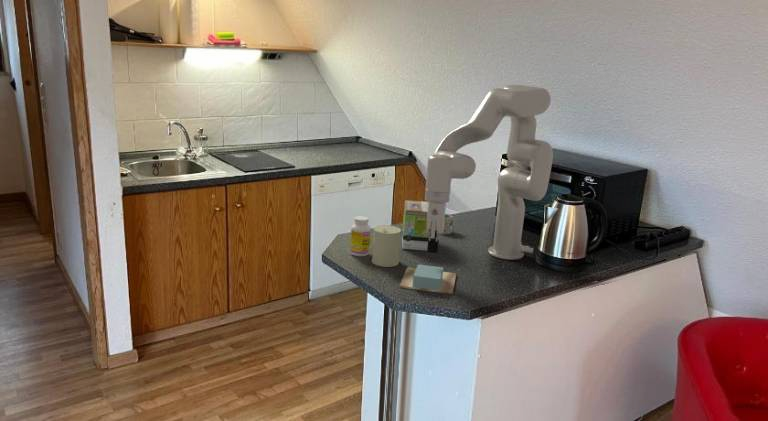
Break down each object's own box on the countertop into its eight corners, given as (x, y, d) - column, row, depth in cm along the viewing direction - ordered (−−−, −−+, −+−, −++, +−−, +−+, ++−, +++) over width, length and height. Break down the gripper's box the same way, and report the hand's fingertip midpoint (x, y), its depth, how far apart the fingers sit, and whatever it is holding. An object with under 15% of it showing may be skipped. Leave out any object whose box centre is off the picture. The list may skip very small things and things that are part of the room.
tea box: (429, 251, 214) (433, 211, 210) (401, 249, 214) (404, 209, 210) (427, 238, 228) (430, 200, 224) (401, 236, 228) (404, 199, 224)
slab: (443, 267, 187) (440, 279, 177) (442, 278, 187) (439, 290, 178) (418, 264, 188) (413, 275, 178) (417, 275, 189) (412, 286, 179)
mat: (456, 275, 192) (456, 273, 192) (452, 294, 177) (452, 292, 177) (407, 269, 195) (407, 267, 195) (399, 287, 180) (399, 285, 180)
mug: (453, 234, 235) (455, 218, 233) (437, 234, 233) (438, 218, 231) (445, 227, 244) (447, 211, 242) (430, 227, 243) (431, 211, 241)
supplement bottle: (362, 258, 202) (364, 222, 199) (346, 253, 205) (347, 218, 202) (372, 253, 208) (375, 218, 204) (357, 249, 211) (359, 214, 207)
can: (367, 263, 197) (369, 229, 194) (377, 255, 206) (379, 222, 203) (393, 268, 194) (396, 233, 191) (402, 260, 203) (405, 226, 200)
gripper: (447, 202, 175) (442, 261, 180) (451, 191, 189) (446, 246, 194) (422, 200, 176) (417, 258, 181) (427, 188, 190) (423, 243, 195)
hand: (432, 251), depth 187 cm, fingers closed
